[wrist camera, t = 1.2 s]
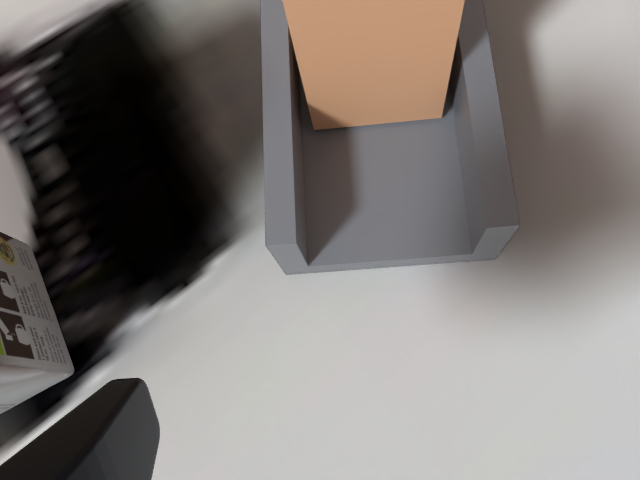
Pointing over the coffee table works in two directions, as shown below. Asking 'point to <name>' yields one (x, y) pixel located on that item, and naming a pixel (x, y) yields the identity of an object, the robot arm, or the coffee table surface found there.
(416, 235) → the charcoal chute
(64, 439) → the robot arm
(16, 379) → the coffee box
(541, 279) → the coffee table surface
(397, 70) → the terracotta block
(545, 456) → the coffee table surface
